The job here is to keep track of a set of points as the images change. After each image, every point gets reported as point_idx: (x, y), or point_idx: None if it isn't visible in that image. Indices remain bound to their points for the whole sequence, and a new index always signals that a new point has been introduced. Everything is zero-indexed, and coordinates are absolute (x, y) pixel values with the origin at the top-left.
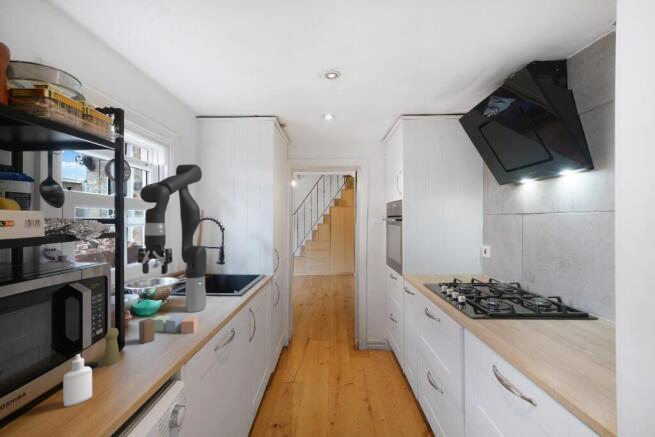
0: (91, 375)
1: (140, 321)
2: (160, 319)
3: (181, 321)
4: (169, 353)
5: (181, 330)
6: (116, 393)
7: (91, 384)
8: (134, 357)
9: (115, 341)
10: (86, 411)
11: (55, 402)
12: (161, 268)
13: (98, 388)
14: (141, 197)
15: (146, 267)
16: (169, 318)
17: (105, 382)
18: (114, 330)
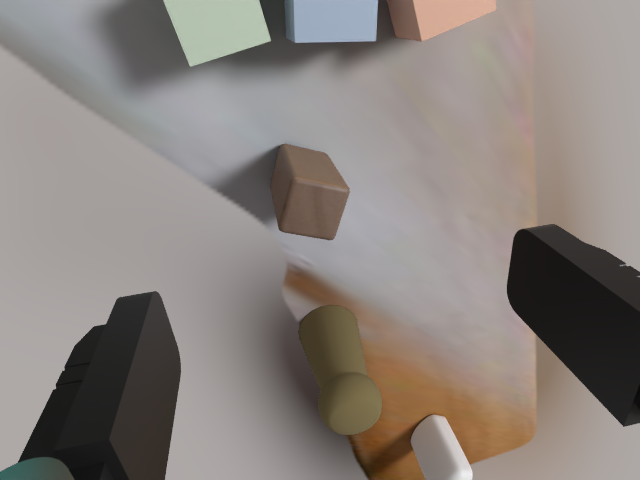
0: (466, 459)
1: (291, 232)
2: (250, 43)
3: (422, 38)
4: (478, 224)
5: (403, 37)
6: (482, 391)
7: (457, 441)
8: (379, 283)
9: (366, 372)
10: (471, 433)
11: (386, 445)
12: (573, 371)
13: (426, 397)
14: None
15: (148, 422)
16: (295, 4)
17: (420, 381)
18: (378, 410)
